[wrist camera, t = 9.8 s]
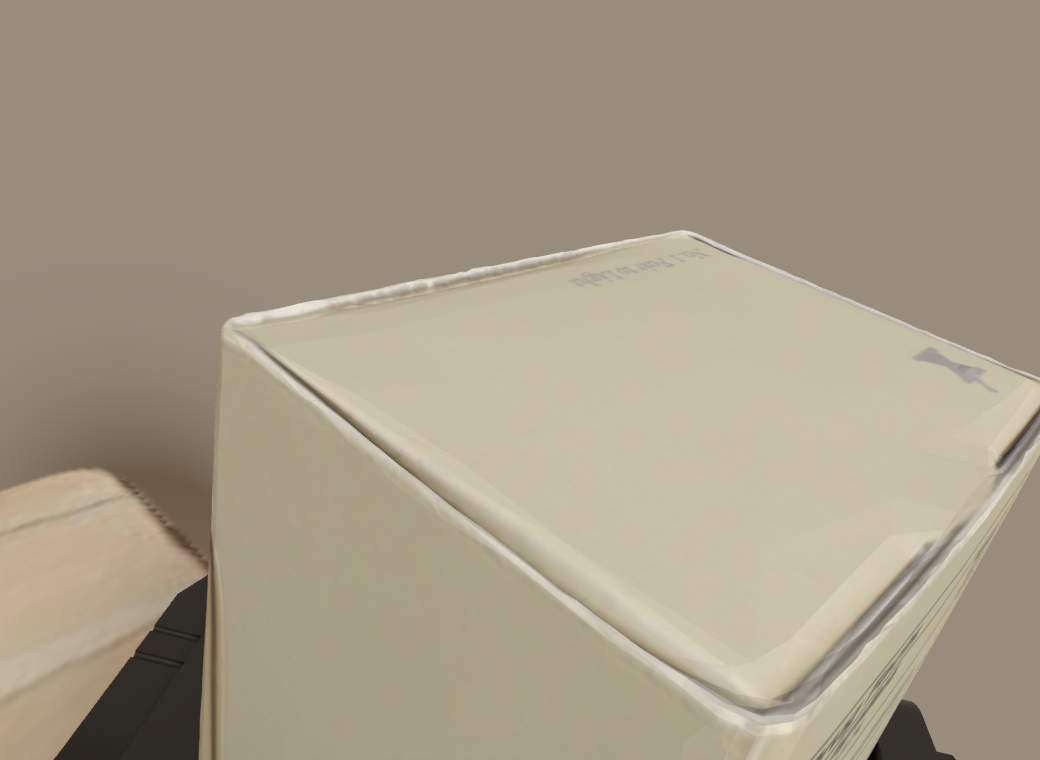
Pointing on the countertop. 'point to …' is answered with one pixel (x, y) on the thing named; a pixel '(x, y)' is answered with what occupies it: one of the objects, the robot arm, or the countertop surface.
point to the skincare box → (592, 513)
